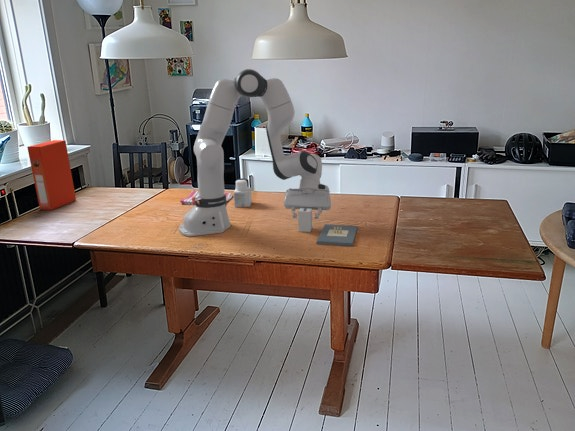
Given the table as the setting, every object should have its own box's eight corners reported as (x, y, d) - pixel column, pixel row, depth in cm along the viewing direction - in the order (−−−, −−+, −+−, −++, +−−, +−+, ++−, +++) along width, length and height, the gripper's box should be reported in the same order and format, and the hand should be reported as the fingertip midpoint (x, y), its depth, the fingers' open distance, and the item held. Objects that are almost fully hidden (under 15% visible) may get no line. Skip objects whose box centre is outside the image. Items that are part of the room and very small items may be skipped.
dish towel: (192, 195, 272) (191, 189, 271) (233, 197, 268) (233, 190, 267) (179, 205, 257) (179, 198, 255) (223, 207, 252) (223, 200, 251)
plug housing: (300, 227, 218) (300, 207, 215) (312, 228, 217) (311, 208, 214) (298, 231, 214) (298, 211, 211) (310, 232, 213) (309, 211, 210)
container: (236, 202, 257) (234, 177, 252) (251, 202, 256) (250, 177, 252) (234, 207, 249) (232, 181, 245) (250, 206, 249) (248, 181, 245)
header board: (324, 226, 219) (324, 218, 218) (357, 228, 216) (357, 220, 214) (316, 243, 200) (316, 235, 199) (352, 246, 197) (352, 237, 196)
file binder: (39, 209, 256) (27, 146, 246) (63, 199, 272) (53, 140, 261) (52, 210, 254) (40, 147, 243) (76, 200, 269) (65, 140, 259)
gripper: (284, 184, 220) (280, 213, 214) (331, 186, 215) (328, 215, 209) (287, 191, 225) (282, 220, 219) (333, 193, 221) (329, 222, 215)
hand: (305, 217), depth 214 cm, fingers open, 8 cm apart
